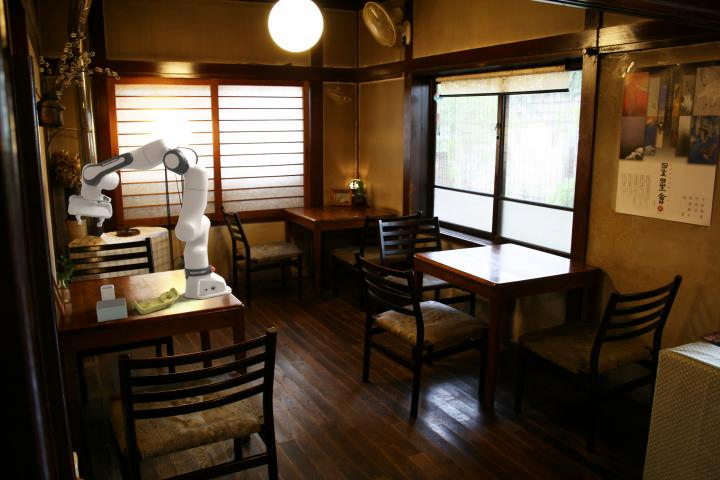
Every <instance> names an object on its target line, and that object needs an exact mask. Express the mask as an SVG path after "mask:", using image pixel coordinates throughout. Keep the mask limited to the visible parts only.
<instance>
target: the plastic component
mask: <svg viewBox="0 0 720 480" xmlns="http://www.w3.org/2000/svg"><path fill="white" fill-rule="evenodd" d="M179 297H180V293H179V290H177V289H176V288H175V287H171V288H170V289H169V290H167V291H165V292H163V293H160V295H159V296H157V297H155V298H151V299H149V300H145V301H142V302H139V303H138V301H136V300H135V299H133V300H132V301H131V308H132V309H133V310H137V311H138V313H140V314H142V315H147V314H151V313H154V312H156V311H159V310H162V309H166V308H167V306H172V304H173V303H174V302H176V301H177V300H178V298H179Z"/></svg>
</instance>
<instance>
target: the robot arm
mask: <svg viewBox="0 0 720 480" xmlns="http://www.w3.org/2000/svg"><path fill="white" fill-rule="evenodd" d="M198 162H199V156H198V153H197V152H196V151H195V150H194V149H192V148H188V147H180V146H178V147H174V146H173V145H172V143H170V141H169V140H167V139H166V138H159V139H156V140H153V141H151V142H148V143H146V144H144V145H142V146H141V147H138V148H136V149H133V150H131V151H128V152H124V153H122V154H121V153H120V154H118V155H116V156H114V157H111V158H109V159H107V160H106V159H105V160H104V161H102V162H100V163H87V164H85V165H84V166H83V167H82V171H81V189H80V195H76V194H72V195H70V196H69V198H68V208H67V209H68V210H67V212H68V214H69V215H74V216H75V218H76V220H77V225H80V226H83V224H84V221H83V220H82V219H81V216H83V217H91V218H99V222H96V223H97V224H96V226H97V227H100V228H101V227H103V222H105V219H110V218H111V217H112V216H113V208H112V203H111V201H112V198H110V197H108V196H106V195H105V194H103V193H102V190H105V191H106V190H107V191H112V190H115V189H117V187H118V186H119V184H120V176H119V174H118V173H117V172H118V171H121V170H137V171H141V172H144V171H150V170H152V169H154V168H156V167H158V166H159V165H162V164H163V166H164V167H165V169H166V170H168V171H170V172H172V173H175V174H177V175H179V176H183V183H184V184H183V192H182V193H183V194H182V195H183V197H182V205H181V209H180V213H179V216H178V221H177V224H176V225H175V228H174V235H175V236H176V238H177V239H178V240H179V241H181V242H185V246H184V250H183V259H184V260H183V261H184V269H183V272H184V278H185V291H184V297H185V298H188V299H198V300H206V299H210V298H214V297H215V298H216V297H219V296H224V295H229V294H231V293H232V288H231V287H230V286H228V285H227V283H226V281H225V279H224V278H223V277H222V276H221V275H219V274H218V273H215V271H216V268H215V267H214V266H213V265H212V264H209V257H208V246H209V245H208V243H209V232H210V228H211V221H210V218H208V216H206V215H205V211H206V208H207V205H208V193H209V175H208V170H207V168H206V167H205V166H203V165H201V164H198Z"/></svg>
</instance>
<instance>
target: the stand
mask: <svg viewBox="0 0 720 480" xmlns="http://www.w3.org/2000/svg"><path fill="white" fill-rule="evenodd" d="M127 308H128V307H127V301H126V298H125V297H120V298H115V299H111V300H104V301H102V300H99V301H96V315H97V322H98V323H100V322H101V323H102V322H107V321H113V320H119V319H127V318H129V317H128V309H127Z"/></svg>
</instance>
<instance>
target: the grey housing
mask: <svg viewBox="0 0 720 480" xmlns="http://www.w3.org/2000/svg"><path fill="white" fill-rule="evenodd" d="M100 294H101V301H104V300H111V299H116V295H115V294H116V293H115V286H114V284H106V285H101V287H100Z"/></svg>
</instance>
